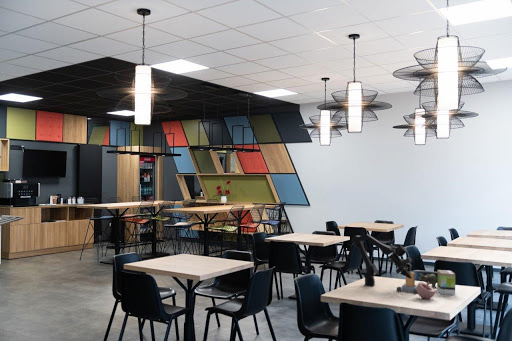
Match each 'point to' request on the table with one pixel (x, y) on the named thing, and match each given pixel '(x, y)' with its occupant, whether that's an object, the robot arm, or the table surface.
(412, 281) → the orange block gray top
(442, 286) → the tea box
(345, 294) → the table surface
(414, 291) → the chassis
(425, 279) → the dinosaur figurine
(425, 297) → the mortar and pestle
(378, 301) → the table surface
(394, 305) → the table surface
